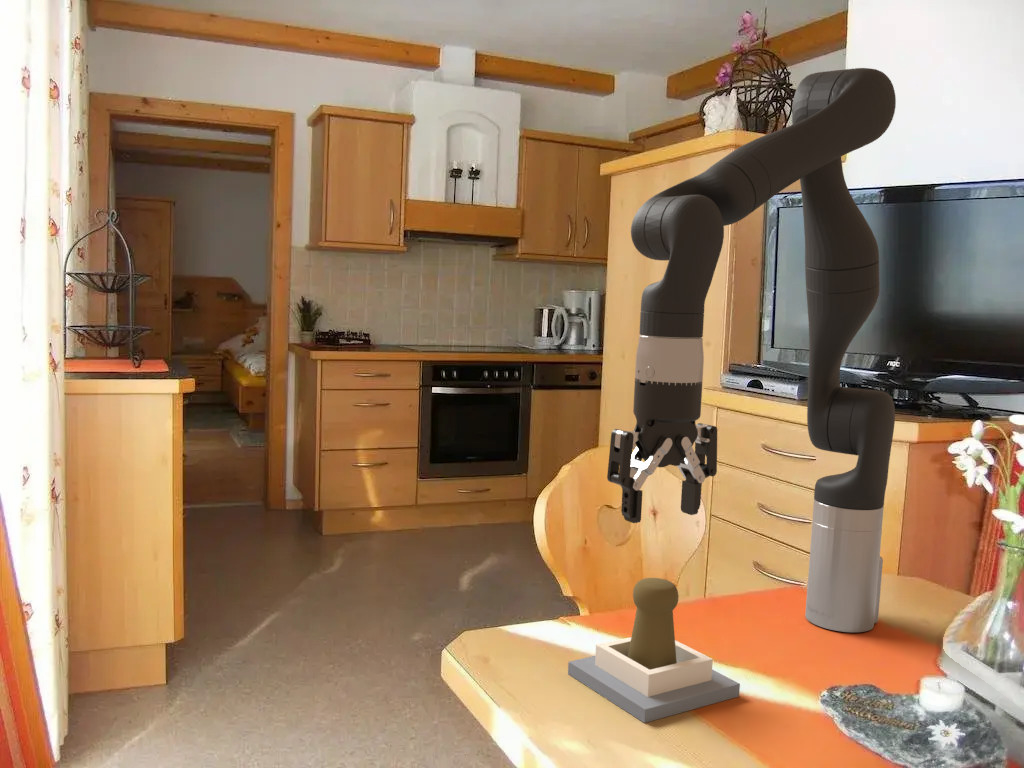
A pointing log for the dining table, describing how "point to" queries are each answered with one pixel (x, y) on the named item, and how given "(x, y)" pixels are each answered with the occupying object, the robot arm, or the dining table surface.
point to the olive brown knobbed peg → (654, 623)
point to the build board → (653, 681)
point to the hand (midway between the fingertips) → (661, 517)
